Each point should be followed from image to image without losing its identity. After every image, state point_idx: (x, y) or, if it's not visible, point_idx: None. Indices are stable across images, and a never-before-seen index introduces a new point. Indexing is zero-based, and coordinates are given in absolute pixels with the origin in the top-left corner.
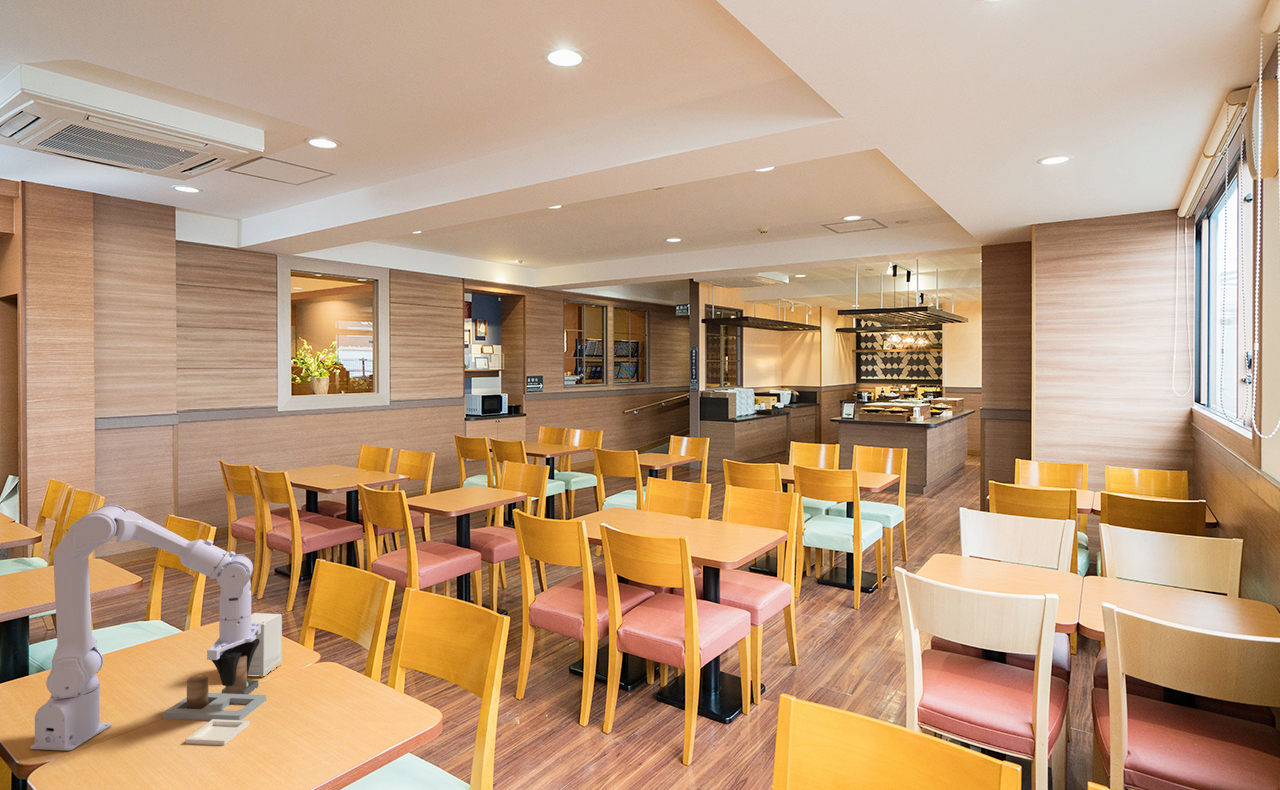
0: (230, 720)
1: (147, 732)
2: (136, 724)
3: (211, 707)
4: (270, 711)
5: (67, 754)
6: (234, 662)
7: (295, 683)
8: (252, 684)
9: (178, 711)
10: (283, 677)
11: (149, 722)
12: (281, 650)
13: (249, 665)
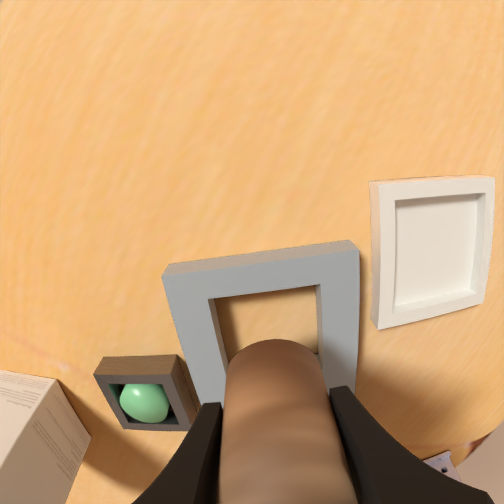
0: (383, 263)
1: (401, 420)
2: None
3: None
4: (234, 186)
5: (456, 444)
6: (442, 482)
7: (29, 262)
8: (122, 375)
9: None
10: (26, 327)
11: None
12: None
13: (189, 440)
